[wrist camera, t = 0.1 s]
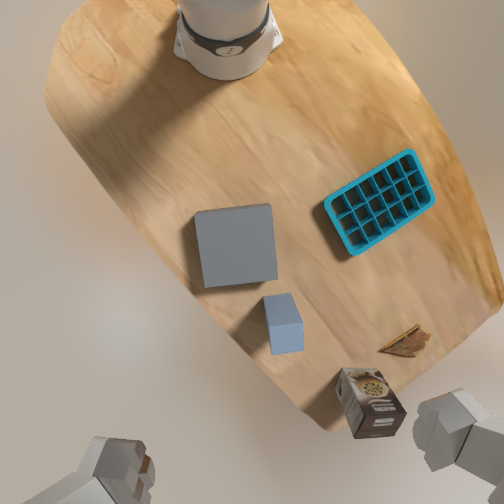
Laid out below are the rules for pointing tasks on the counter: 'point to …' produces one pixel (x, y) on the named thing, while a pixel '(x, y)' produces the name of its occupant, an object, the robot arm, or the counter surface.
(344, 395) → the coffee box
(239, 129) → the counter surface
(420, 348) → the shard
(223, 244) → the charcoal block
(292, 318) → the slate-blue block
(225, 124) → the counter surface
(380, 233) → the ice cube tray
